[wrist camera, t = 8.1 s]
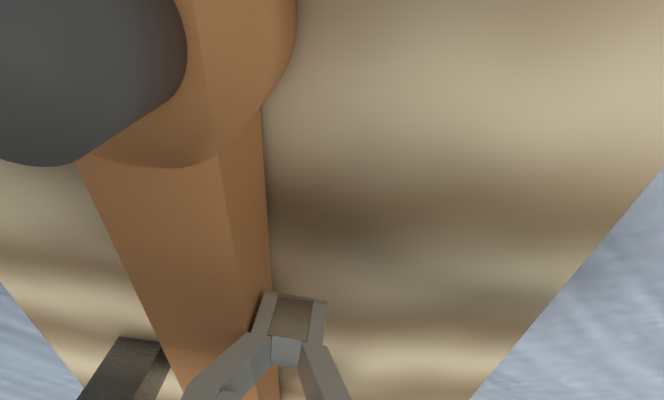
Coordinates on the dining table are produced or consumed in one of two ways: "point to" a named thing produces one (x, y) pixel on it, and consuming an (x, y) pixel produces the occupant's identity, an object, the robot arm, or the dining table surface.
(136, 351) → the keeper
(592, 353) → the dining table surface
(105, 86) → the latch bar
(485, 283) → the board
